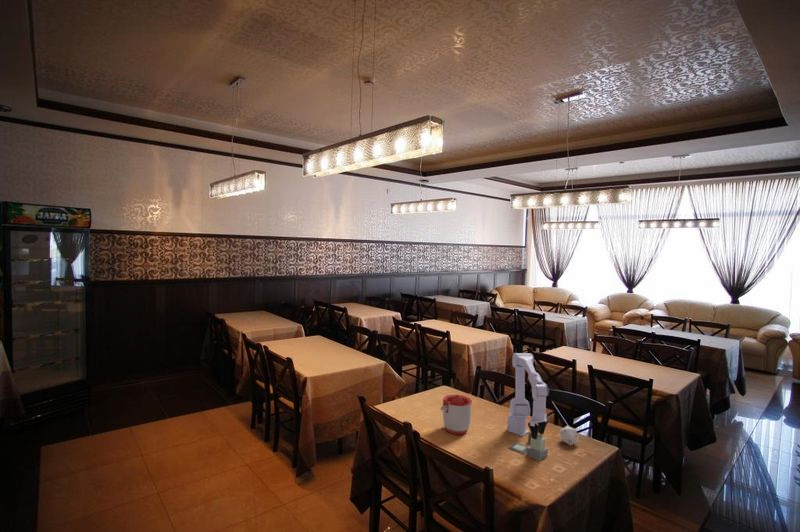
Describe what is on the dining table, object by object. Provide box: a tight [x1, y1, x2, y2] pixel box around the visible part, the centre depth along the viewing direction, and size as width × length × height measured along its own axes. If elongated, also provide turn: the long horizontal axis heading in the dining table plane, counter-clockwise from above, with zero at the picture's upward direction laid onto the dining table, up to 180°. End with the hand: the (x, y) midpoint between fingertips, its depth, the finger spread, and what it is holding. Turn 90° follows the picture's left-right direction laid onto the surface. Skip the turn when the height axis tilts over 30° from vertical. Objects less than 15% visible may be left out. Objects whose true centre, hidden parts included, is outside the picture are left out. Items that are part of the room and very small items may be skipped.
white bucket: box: [440, 394, 473, 435], centre depth 214 cm, size 16×17×20 cm
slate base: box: [525, 444, 548, 462], centre depth 191 cm, size 7×7×4 cm
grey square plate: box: [508, 441, 528, 455], centre depth 197 cm, size 8×8×1 cm
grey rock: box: [559, 425, 580, 446], centre depth 205 cm, size 8×9×10 cm
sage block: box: [529, 436, 546, 452], centre depth 190 cm, size 5×5×5 cm
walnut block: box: [527, 431, 543, 443], centre depth 205 cm, size 5×5×5 cm
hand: (537, 436), depth 190 cm, fingers open, 7 cm apart
